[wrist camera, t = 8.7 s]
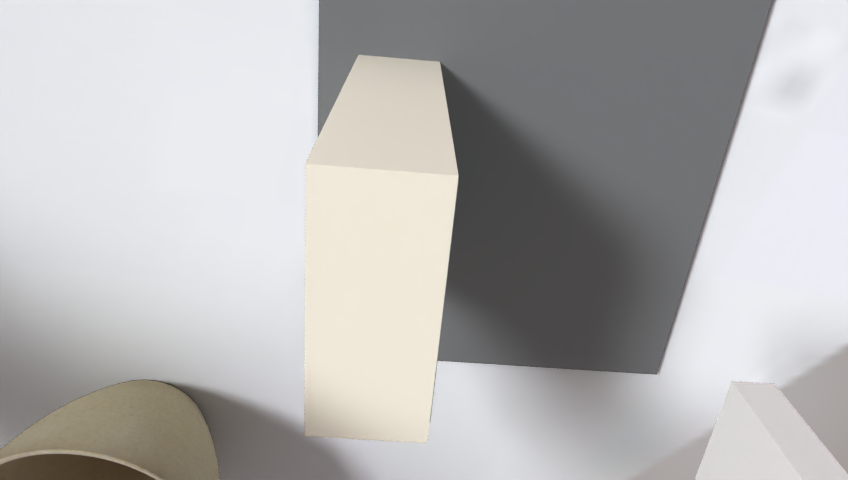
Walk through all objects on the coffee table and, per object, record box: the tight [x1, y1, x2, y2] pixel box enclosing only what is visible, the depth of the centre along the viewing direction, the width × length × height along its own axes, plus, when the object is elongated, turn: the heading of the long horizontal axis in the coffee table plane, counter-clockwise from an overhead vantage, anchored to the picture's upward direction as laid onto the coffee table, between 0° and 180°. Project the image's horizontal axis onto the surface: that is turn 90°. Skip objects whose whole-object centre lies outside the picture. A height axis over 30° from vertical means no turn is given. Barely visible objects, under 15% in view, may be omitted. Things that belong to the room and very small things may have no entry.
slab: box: [305, 55, 459, 443], centre depth 19 cm, size 3×7×12 cm, turn 175°
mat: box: [318, 0, 772, 374], centre depth 25 cm, size 16×22×1 cm
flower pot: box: [0, 380, 220, 480], centre depth 28 cm, size 10×10×7 cm
